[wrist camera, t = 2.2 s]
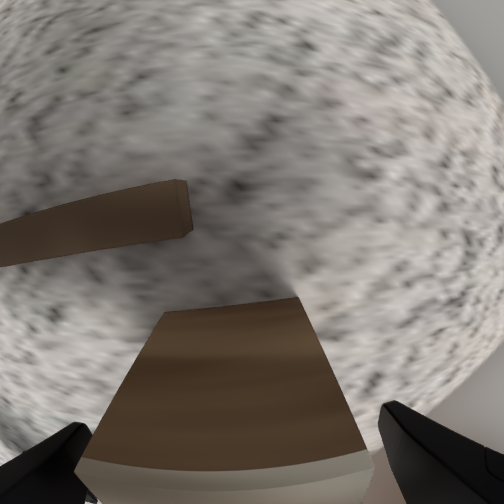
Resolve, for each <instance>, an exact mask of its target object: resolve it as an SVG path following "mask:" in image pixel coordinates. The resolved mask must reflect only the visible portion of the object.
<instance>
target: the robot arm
mask: <svg viewBox="0 0 504 504" xmlns="http://www.w3.org/2000/svg"><path fill="white" fill-rule="evenodd" d="M378 428H379V432H380V435H381V438H382V441H383V444H384V448H385V451H386V454H387V457H388V461H389V464H390V467H391V470H392V472H393V474H394V476H395V479H396V481H397V483H398V486H399V488H400V490H401V492H402V495H403V497H404V499H405V501H406V504H504V454H501V453H499V452H497V451H494V450H492V449H490V448H488V447H485V448H484V446H483V445H481V444H479V443H477V442H475V441H473V440H471V439H469V438H467V437H465V436H462V435H461V434H459V433H457V432H454V431H453V430H450V429H449V428H447V427H445V426H443V425H441V424H439V423H437V422H435V421H433V420H431V419H429V418H427V417H426V416H424V415H422V414H420V413H418V412H416V411H414V410H413V409H411V408H409V407H407V406H405V405H404V404H402V403H400V402H398V401H395V400H393V401H390V402H386V403H384V404H382V406H381V410H380V415H379V420H378ZM92 436H93V435H92V433H91V431H90V430H89V428H88V426H87V425H86V424H84V423H80V422H73V423H71V424H70V425H68V426H66V427H65V428H63V429H62V430H60V431H58V432H57V433H55V434H54V435H52V436H50V437H49V438H47V439H45V440H44V441H42V442H41V443H39V444H37V445H36V446H34V447H32V448H31V449H29V450H27V451H26V452H25V451H23V453H22V454H20V455H19V456H17V457H15V458H14V459H12V460H10V461H8V462H7V463H5V464H3V465H2V466H0V504H85V501H86V502H90V503H93V504H97V502H98V500H97V499H96V498H95V497H94V496H93V495H92V494H91V493H90V492H89V491H88V488H87V487H86V485H85V484H84V483H83V482H82V481H81V480H80V479H79V477H78V476H77V475H76V474H75V473H74V470H75V468H76V466H77V464H78V462H79V460H80V459H81V457H82V455H83V453H84V451H85V449H86V447H87V445H88V443H89V441H90V440H91V438H92Z"/></svg>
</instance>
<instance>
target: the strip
mask: <svg viewBox="0 0 504 504" xmlns="http://www.w3.org/2000/svg"><path fill="white" fill-rule="evenodd" d="M192 230H193V224H192V217H191V211H190V204H189V197H188V189H187V182H186V181H184V180H176V179H174V180H169V181H163V182H158V183H153V184H148V185H143V186H138V187H133V188H128V189H124V190H119V191H115V192H111V193H106V194H102V195H98V196H94V197H90V198H86V199H82V200H78V201H74V202H70V203H67V204H63V205H59V206H56V207H52V208H49V209H45V210H42V211H39V212H35V213H32V214H29V215H26V216H23V217H19V218H16V219H13V220H10V221H7V222H4V223H1V224H0V267H5V266H10V265H16V264H21V263H26V262H32V261H38V260H43V259H49V258H55V257H60V256H66V255H72V254H78V253H84V252H90V251H96V250H103V249H109V248H115V247H121V246H128V245H134V244H141V243H148V242H154V241H161V240H168V239H175V238H182V237H184V236H185V235H187V234H188V233H189V232H190V231H192Z"/></svg>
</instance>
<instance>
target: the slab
mask: <svg viewBox="0 0 504 504" xmlns="http://www.w3.org/2000/svg"><path fill="white" fill-rule="evenodd" d="M374 468H375V466H374V464H373V461H372V459H371V457H370V454H369V452H368V450H367V447H366V445H365V443H364V440H363V438H362V436H361V433H360V431H359V429H358V427H357V424H356V422H355V420H354V417H353V415H352V413H351V411H350V408H349V406H348V404H347V402H346V399H345V397H344V395H343V393H342V390H341V388H340V386H339V384H338V381H337V379H336V377H335V375H334V373H333V370H332V368H331V366H330V364H329V362H328V359H327V357H326V355H325V353H324V351H323V348H322V346H321V344H320V342H319V340H318V338H317V335H316V333H315V331H314V329H313V327H312V325H311V323H310V320H309V318H308V316H307V314H306V312H305V310H304V308H303V306H302V303H301V301H300V299H299V297H294V298H287V299H280V300H272V301H265V302H257V303H249V304H240V305H232V306H223V307H214V308H204V309H194V310H184V311H173V312H164V314H163V315H162V317H161V319H160V320H159V322H158V323H157V325H156V327H155V328H154V330H153V332H152V333H151V335H150V336H149V338H148V340H147V341H146V343H145V345H144V346H143V348H142V350H141V351H140V353H139V355H138V356H137V358H136V360H135V362H134V363H133V365H132V367H131V368H130V370H129V372H128V373H127V375H126V377H125V379H124V380H123V382H122V384H121V386H120V387H119V389H118V391H117V393H116V394H115V396H114V398H113V400H112V401H111V403H110V405H109V407H108V408H107V410H106V412H105V414H104V416H103V417H102V419H101V421H100V423H99V425H98V427H97V428H96V430H95V432H94V434H93V436H92V438H91V440H90V441H89V443H88V445H87V447H86V449H85V451H84V453H83V455H82V457H81V459H80V460H79V462H78V464H77V466H76V468H75V470H74V473H75V474H76V475H77V476H78V477H79V479H80V480H81V481H82V482H83V483H84V484H85V485H86V487H87V488H88V489H89V490H90V491H91V492H92V493H93V494H94V495H95V496H96V497H97V498H98V499H99V500H100V501H101V502H102V503H103V504H362V503H363V500H364V498H365V495H366V492H367V489H368V486H369V484H370V481H371V478H372V474H373V471H374Z"/></svg>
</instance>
